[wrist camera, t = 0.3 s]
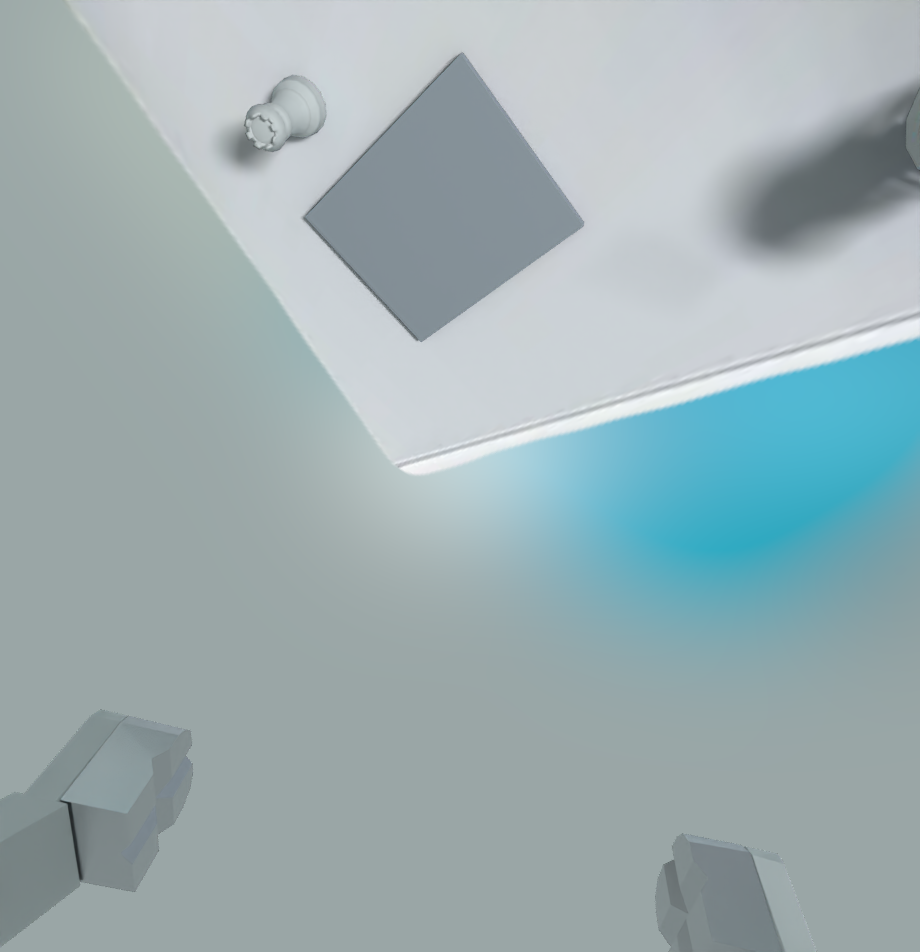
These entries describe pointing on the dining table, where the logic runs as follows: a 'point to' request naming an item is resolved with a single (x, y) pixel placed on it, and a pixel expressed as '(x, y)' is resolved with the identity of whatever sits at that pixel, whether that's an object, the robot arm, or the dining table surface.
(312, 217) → the mat
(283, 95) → the rook chess piece
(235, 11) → the dining table surface
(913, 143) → the french press
